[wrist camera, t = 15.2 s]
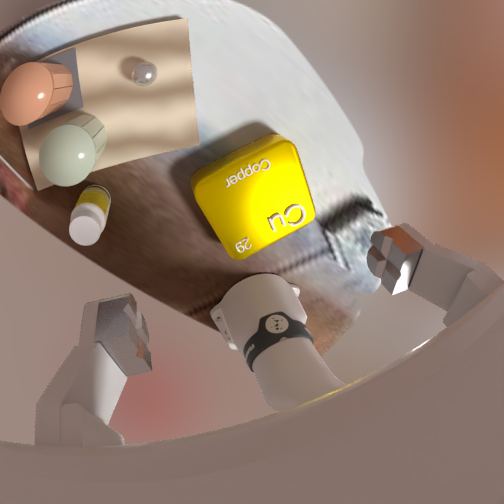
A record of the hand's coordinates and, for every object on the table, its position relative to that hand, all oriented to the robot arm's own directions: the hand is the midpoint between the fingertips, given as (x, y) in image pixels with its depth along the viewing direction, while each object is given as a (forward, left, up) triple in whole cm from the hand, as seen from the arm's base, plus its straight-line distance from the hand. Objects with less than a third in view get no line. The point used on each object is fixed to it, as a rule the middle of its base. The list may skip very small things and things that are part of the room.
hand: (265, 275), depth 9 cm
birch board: (+5, +9, -30) cm, 32 cm away
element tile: (-13, -9, -31) cm, 35 cm away
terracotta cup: (+9, +15, -28) cm, 33 cm away
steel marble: (+7, +3, -27) cm, 28 cm away
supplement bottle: (-8, +13, -30) cm, 34 cm away
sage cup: (+1, +12, -29) cm, 31 cm away
